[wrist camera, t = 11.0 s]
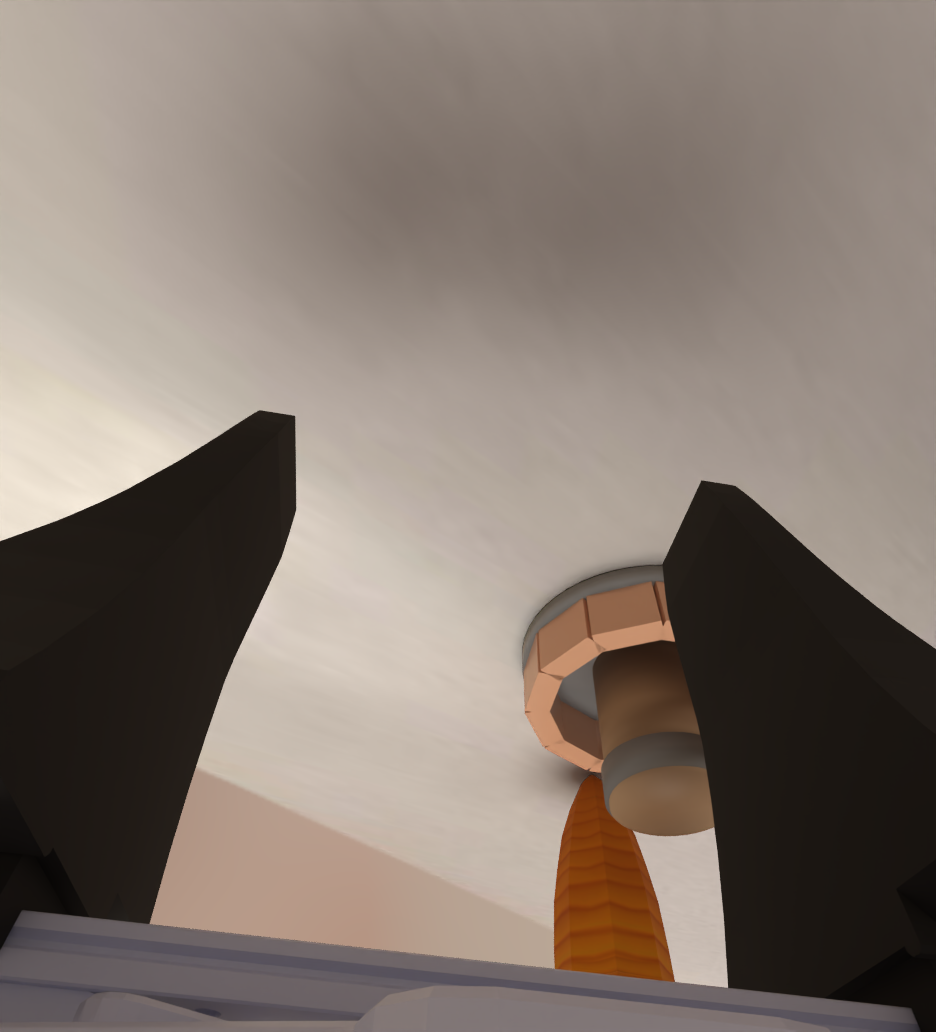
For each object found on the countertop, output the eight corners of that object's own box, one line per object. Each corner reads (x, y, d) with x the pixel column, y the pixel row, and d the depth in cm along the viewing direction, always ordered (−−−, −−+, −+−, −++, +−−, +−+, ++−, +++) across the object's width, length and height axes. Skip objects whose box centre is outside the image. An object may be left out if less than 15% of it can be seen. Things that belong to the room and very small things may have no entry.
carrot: (637, 799, 36) (702, 1192, 24) (546, 800, 36) (565, 1185, 24) (641, 748, 33) (718, 1169, 21) (542, 750, 33) (562, 1162, 21)
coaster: (814, 586, 25) (843, 642, 23) (711, 736, 32) (726, 791, 29) (553, 547, 25) (557, 600, 22) (502, 708, 31) (501, 762, 29)
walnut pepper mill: (710, 630, 26) (755, 769, 21) (693, 703, 29) (730, 838, 24) (591, 632, 26) (609, 768, 22) (586, 703, 29) (601, 837, 24)
